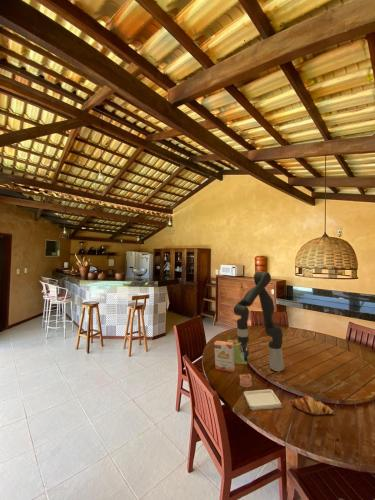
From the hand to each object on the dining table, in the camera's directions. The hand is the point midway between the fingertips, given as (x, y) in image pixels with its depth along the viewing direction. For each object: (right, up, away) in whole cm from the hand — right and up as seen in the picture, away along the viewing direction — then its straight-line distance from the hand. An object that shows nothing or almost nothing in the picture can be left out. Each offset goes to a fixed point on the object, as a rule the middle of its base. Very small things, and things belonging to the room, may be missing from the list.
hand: (244, 358), depth 157 cm
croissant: (+30, -16, -28) cm, 44 cm away
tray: (+6, -17, -19) cm, 26 cm away
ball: (0, +2, 0) cm, 2 cm away
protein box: (+2, -18, +33) cm, 37 cm away
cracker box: (-10, -18, +20) cm, 29 cm away
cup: (+1, -17, 0) cm, 17 cm away
